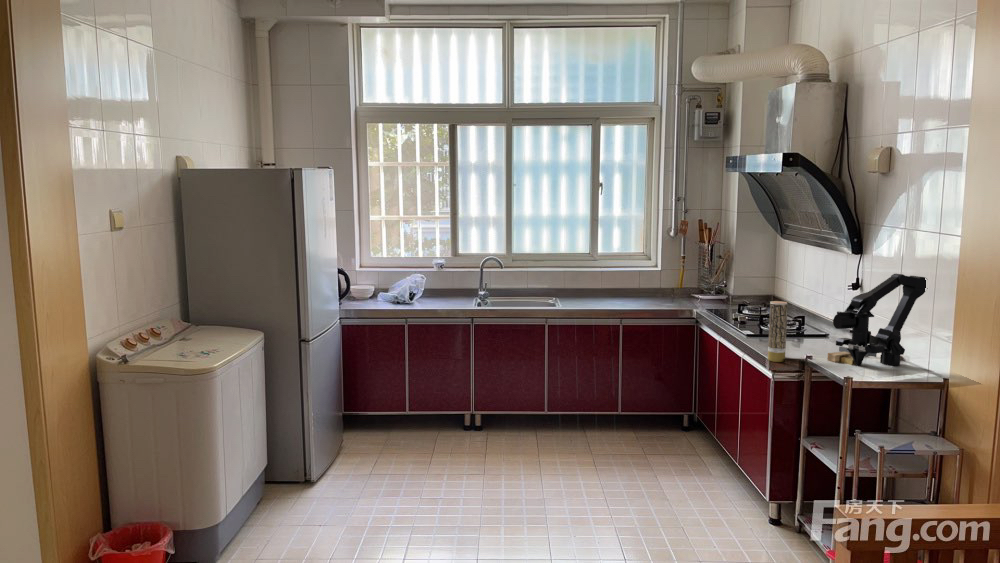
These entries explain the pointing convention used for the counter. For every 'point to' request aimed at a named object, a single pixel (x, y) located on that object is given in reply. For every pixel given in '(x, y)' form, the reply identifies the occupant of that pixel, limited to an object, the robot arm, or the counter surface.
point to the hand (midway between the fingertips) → (858, 366)
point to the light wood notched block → (837, 356)
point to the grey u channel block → (844, 349)
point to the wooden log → (777, 331)
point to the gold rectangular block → (846, 360)
